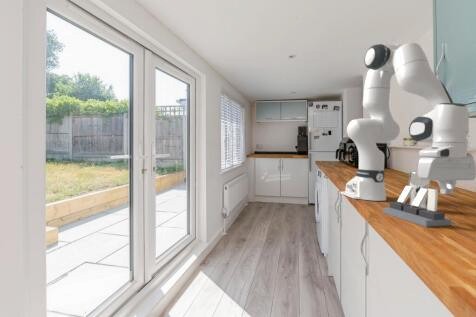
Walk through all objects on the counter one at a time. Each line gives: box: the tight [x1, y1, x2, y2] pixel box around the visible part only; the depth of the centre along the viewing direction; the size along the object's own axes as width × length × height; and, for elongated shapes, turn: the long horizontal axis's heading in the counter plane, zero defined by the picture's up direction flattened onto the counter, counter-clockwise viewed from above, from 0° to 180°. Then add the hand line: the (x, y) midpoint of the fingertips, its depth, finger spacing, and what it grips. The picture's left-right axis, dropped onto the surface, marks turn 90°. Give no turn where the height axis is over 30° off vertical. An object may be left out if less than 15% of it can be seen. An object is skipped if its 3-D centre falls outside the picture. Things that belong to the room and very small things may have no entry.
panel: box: [382, 201, 452, 228], centre depth 87 cm, size 17×10×4 cm, turn 13°
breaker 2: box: [412, 188, 428, 208], centre depth 88 cm, size 2×1×7 cm
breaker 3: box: [426, 188, 439, 212], centre depth 81 cm, size 2×1×7 cm, turn 13°
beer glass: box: [407, 171, 431, 209], centre depth 102 cm, size 7×7×15 cm
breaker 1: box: [397, 185, 413, 204], centre depth 93 cm, size 2×1×7 cm
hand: (446, 193), depth 82 cm, fingers closed
